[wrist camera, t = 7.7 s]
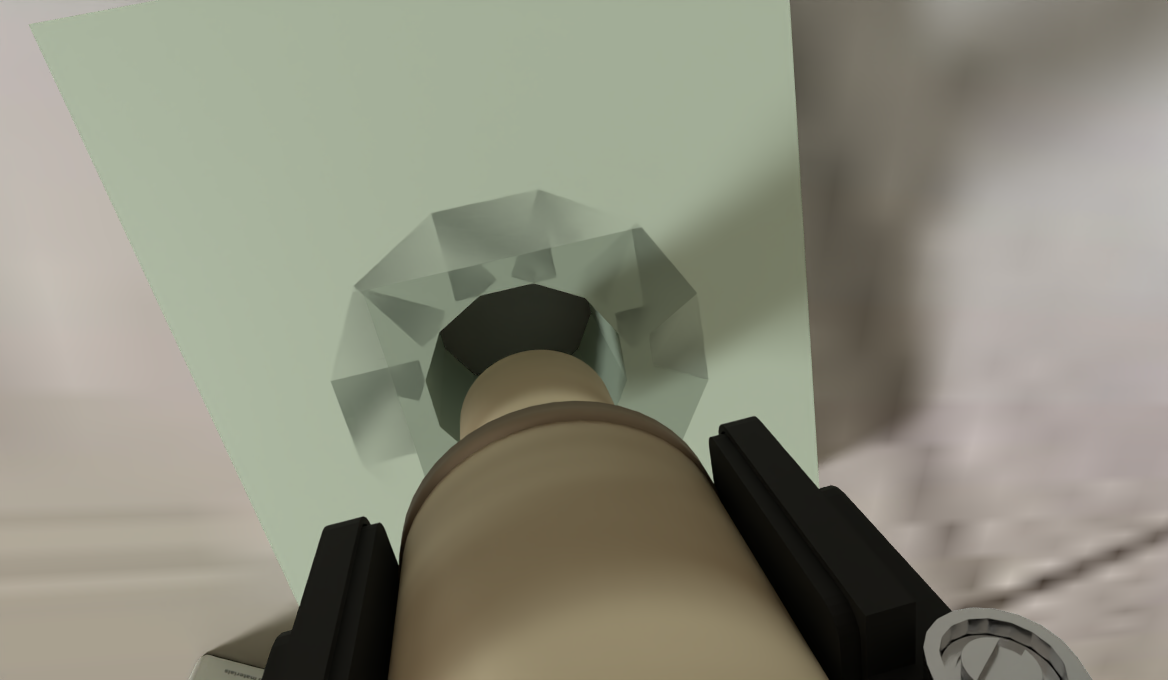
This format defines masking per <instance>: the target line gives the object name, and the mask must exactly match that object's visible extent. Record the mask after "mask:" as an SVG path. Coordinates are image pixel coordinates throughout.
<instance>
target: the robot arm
mask: <svg viewBox="0 0 1168 680" xmlns="http://www.w3.org/2000/svg"><path fill="white" fill-rule="evenodd" d="M718 434H719V435H716V436H712V437H710V438H709V451H710V459H711V466H712V474H713V481H714V485H715V486H716V488H717V490H718V493H719V495H720V501H721V503H722V504H723V506H724V508H725V509H726V511H727V513H728V514H729V516H730V517H731V519H732V521H733V522H734V524H735V526H736V527H737V529H738V531H739V532H740V534H741V536H742V537H743V539H744V541H745V542H746V544H747V545H748V547H749V549H750V550H751V552H752V554H753V555H754V557H755V559H756V560H757V562H758V564H759V565H760V567H761V569H762V570H763V572H764V573H765V575H766V577H767V578H768V580H769V582H770V583H771V585H772V587H773V588H774V590H775V592H776V593H777V595H778V597H779V598H780V600H781V601H782V603H783V605H784V606H785V608H786V610H787V611H788V613H789V615H790V616H791V618H792V620H793V621H794V623H795V625H796V626H797V628H798V629H799V631H800V633H801V634H802V636H803V638H804V639H805V641H806V643H807V644H808V646H809V648H810V649H811V651H812V653H813V654H814V656H815V657H816V659H817V661H818V662H819V664H820V666H821V667H822V669H823V671H824V672H825V674H826V676H827V677H828V679H829V680H1092V678H1091V677H1090V675H1089V674H1088V672H1087V671H1086V669H1085V668H1084V666H1083V665H1082V663H1081V662H1080V660H1079V659H1078V657H1077V656H1076V655H1075V654H1074V653H1073V652H1072V651H1071V650H1070V648H1069V647H1068V646H1067V645H1066V644H1065V643H1064V642H1063V641H1062V640H1061V639H1060V638H1058V637H1057V636H1056V635H1054V634H1053V633H1051V632H1050V631H1049V630H1047V629H1046V628H1044V627H1043V626H1042V625H1040V624H1037V623H1035V622H1033V621H1031V620H1029V619H1026V618H1024V617H1022V616H1020V615H1017V614H1013V613H1009V612H1005V611H1001V610H997V609H989V608H967V609H962V610H956V611H951V610H950V609H949V607H948V606H947V605H946V604H945V603H944V602H943V601H942V600H941V599H940V598H939V597H938V595H937V594H936V593H935V592H934V591H933V590H932V589H931V588H930V587H929V586H928V584H927V583H926V582H925V581H924V580H923V579H922V578H921V577H920V576H919V575H918V573H917V572H916V571H915V570H914V569H913V568H912V567H911V566H910V565H909V564H908V562H907V561H906V560H905V559H904V558H903V557H902V556H901V555H900V554H899V553H898V552H897V550H896V549H895V548H894V547H893V546H892V545H891V544H890V543H889V542H888V541H887V539H886V538H885V537H884V536H883V535H882V534H881V533H880V532H879V531H878V530H877V528H876V527H875V526H874V525H873V524H872V523H871V522H870V521H869V520H868V519H867V517H866V516H865V515H864V514H863V513H862V512H861V511H860V510H859V509H858V508H857V507H856V505H855V504H854V503H853V502H852V501H851V500H850V499H849V498H848V497H847V496H846V494H845V493H844V492H842V491H841V490H840V489H839V488H838V487H835V486H832V485H831V486H827V487H823V488H820V489H819V488H818V487H817V486H816V485H815V484H814V482H813V481H812V480H811V479H810V478H809V477H808V475H807V474H806V473H805V472H804V471H803V470H802V468H801V467H800V466H799V465H798V464H797V463H796V461H795V460H794V459H793V458H792V457H791V456H790V454H789V453H788V452H787V451H786V450H785V449H784V447H783V446H782V445H781V444H780V443H779V442H778V440H777V439H776V438H775V437H774V436H773V435H772V434H771V432H770V431H769V430H768V429H767V428H766V427H765V425H764V424H763V423H762V422H761V421H760V420H759V419H758V418H757V417H756V416H752V417H748V418H744V419H740V420H736V421H732V422H728V423H724V424H721V425H720V426H719V430H718ZM398 567H399V565H398V562H397V560H396V557H395V554H394V552H393V549H392V546H391V544H390V541H389V538H388V536H387V533H386V530H385V528H384V526H383V525H382V523H380V522H379V523H375V524H370V522H369V520H368V519H367V518H366V517H364V516H362V517H358V518H355V519H351V520H347V521H343V522H339V523H335V524H331V525H327V526H326V527H324V529H323V531H322V534H321V537H320V540H319V543H318V547H317V550H316V553H315V557H314V560H313V563H312V566H311V570H310V573H309V576H308V580H307V583H306V586H305V589H304V593H303V596H302V599H301V603H300V606H299V609H298V612H297V616H296V619H295V622H294V625H293V629H292V630H291V631H287V632H283V633H281V634H280V635H279V636H278V637H277V638H276V640H275V642H274V644H273V646H272V649H271V652H270V655H269V658H268V661H267V664H266V667H265V670H264V673H263V676H262V679H261V680H388V673H389V664H390V656H391V648H392V640H393V632H394V624H395V615H396V607H397V599H398V591H399V583H400V582H399V577H398Z"/></svg>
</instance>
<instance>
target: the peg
mask: <svg viewBox="0 0 1168 680" xmlns="http://www.w3.org/2000/svg"><path fill="white" fill-rule="evenodd" d="M398 577H399V582H400V583H399V591H398V599H397V607H396V615H395V624H394V632H393V640H392V648H391V656H390V664H389V673H388V680H829V679H828V677H827V676H826V674H825V672H824V671H823V669H822V667H821V666H820V664H819V662H818V661H817V659H816V657H815V656H814V654H813V653H812V651H811V649H810V648H809V646H808V644H807V643H806V641H805V639H804V638H803V636H802V634H801V633H800V631H799V629H798V628H797V626H796V625H795V623H794V621H793V620H792V618H791V616H790V615H789V613H788V611H787V610H786V608H785V606H784V605H783V603H782V601H781V600H780V598H779V597H778V595H777V593H776V592H775V590H774V588H773V587H772V585H771V583H770V582H769V580H768V578H767V577H766V575H765V573H764V572H763V570H762V569H761V567H760V565H759V564H758V562H757V560H756V559H755V557H754V555H753V554H752V552H751V550H750V549H749V547H748V545H747V544H746V542H745V541H744V539H743V537H742V536H741V534H740V532H739V531H738V529H737V527H736V526H735V524H734V522H733V521H732V519H731V517H730V516H729V514H728V513H727V511H726V509H725V508H724V506H723V504H722V503H721V501H720V495H719V493H718V490H717V488H716V486H715V485H714V483H713V481H712V480H711V478H710V476H709V475H708V473H707V471H706V470H705V468H704V466H703V465H702V463H701V462H700V460H699V458H698V457H697V455H696V454H695V453H694V452H693V451H692V449H691V448H690V447H689V446H688V445H687V443H686V442H685V441H683V440H682V439H681V438H680V437H679V436H678V435H677V434H676V433H674V432H673V431H672V430H671V429H669V428H668V427H666V426H665V425H663V424H661V423H660V422H658V421H657V420H655V419H653V418H651V417H649V416H646V415H644V414H642V413H640V412H638V411H634V410H631V409H628V408H625V407H622V406H618V405H614V403H613V401H612V398H611V396H610V394H609V392H608V390H607V388H606V385H605V384H604V382H603V381H602V379H601V378H600V376H599V375H598V374H597V373H596V372H595V371H594V370H593V369H592V368H591V367H590V366H589V365H587V364H586V363H584V362H583V361H581V360H580V359H578V358H576V357H574V356H572V355H569V354H566V353H563V352H558V351H553V350H529V351H524V352H519V353H516V354H513V355H510V356H508V357H505V358H503V359H501V360H499V361H498V362H496V363H494V364H493V365H491V366H490V367H489V368H487V369H486V370H485V371H484V372H483V373H482V374H481V375H480V376H479V377H478V378H477V379H476V380H475V382H474V383H473V384H472V386H471V387H470V389H469V391H468V393H467V394H466V397H465V399H464V402H463V405H462V409H461V416H460V441H459V442H457V443H456V444H455V445H454V446H452V447H451V448H450V449H449V450H448V451H447V452H446V453H445V454H444V455H443V456H442V457H441V458H440V459H439V460H438V461H437V462H436V463H435V464H434V466H433V467H432V468H431V469H430V471H429V472H428V473H427V475H426V476H425V477H424V479H423V480H422V482H421V484H420V485H419V487H418V489H417V491H416V492H415V494H414V496H413V498H412V501H411V503H410V506H409V508H408V511H407V514H406V517H405V522H404V526H403V531H402V537H401V545H400V553H399V567H398Z"/></svg>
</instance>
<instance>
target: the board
mask: <svg viewBox="0 0 1168 680" xmlns="http://www.w3.org/2000/svg"><path fill="white" fill-rule="evenodd" d="M29 26H30V28H31V31H32V33H33V35H34V37H35V39H36V41H37V43H38V46H39V48H40V50H41V52H42V54H43V56H44V59H45V61H46V63H47V65H48V67H49V69H50V71H51V74H52V76H53V78H54V80H55V82H56V84H57V87H58V89H59V91H60V93H61V95H62V97H63V99H64V102H65V104H66V106H67V108H68V110H69V112H70V114H71V117H72V119H73V121H74V123H75V125H76V127H77V130H78V132H79V134H80V136H81V138H82V140H83V142H84V145H85V147H86V149H87V151H88V153H89V155H90V158H91V160H92V162H93V164H94V166H95V168H96V170H97V173H98V175H99V177H100V179H101V181H102V183H103V185H104V188H105V190H106V192H107V194H108V196H109V198H110V201H111V203H112V205H113V207H114V209H115V211H116V213H117V216H118V218H119V220H120V222H121V224H122V226H123V229H124V231H125V233H126V235H127V237H128V239H129V241H130V244H131V246H132V248H133V250H134V252H135V254H136V256H137V259H138V261H139V263H140V265H141V267H142V269H143V272H144V274H145V276H146V278H147V280H148V282H149V284H150V287H151V289H152V291H153V293H154V295H155V297H156V300H157V302H158V304H159V306H160V308H161V310H162V312H163V315H164V317H165V319H166V321H167V323H168V325H169V327H170V330H171V332H172V334H173V336H174V338H175V340H176V343H177V345H178V347H179V349H180V351H181V353H182V355H183V358H184V360H185V362H186V364H187V366H188V368H189V371H190V373H191V375H192V377H193V379H194V381H195V383H196V386H197V388H198V390H199V392H200V394H201V396H202V398H203V401H204V403H205V405H206V407H207V409H208V411H209V414H210V416H211V418H212V420H213V422H214V424H215V426H216V429H217V431H218V433H219V435H220V437H221V439H222V442H223V444H224V446H225V448H226V450H227V452H228V454H229V457H230V459H231V461H232V463H233V465H234V467H235V469H236V472H237V474H238V476H239V478H240V480H241V482H242V485H243V487H244V489H245V491H246V493H247V495H248V497H249V500H250V502H251V504H252V506H253V508H254V510H255V513H256V515H257V517H258V519H259V521H260V523H261V525H262V528H263V530H264V532H265V534H266V536H267V538H268V540H269V543H270V545H271V547H272V549H273V551H274V553H275V556H276V558H277V560H278V562H279V564H280V566H281V568H282V571H283V573H284V575H285V577H286V579H287V581H288V584H289V586H290V588H291V590H292V592H293V594H294V596H295V599H296V601H297V603H298V605H299V606H300V603H301V599H302V596H303V593H304V589H305V586H306V583H307V580H308V576H309V573H310V570H311V566H312V563H313V560H314V557H315V553H316V550H317V547H318V543H319V540H320V537H321V534H322V531H323V529H324V527H326V526H327V525H331V524H335V523H339V522H343V521H347V520H351V519H355V518H358V517H362V516H364V517H366V518H367V519H368V520H369V522H370V524H375V523H379V522H380V523H382V525H383V526H384V528H385V530H386V533H387V536H388V538H389V541H390V544H391V546H392V549H393V552H394V554H395V557H396V560H397V562H398V565H399V553H400V545H401V537H402V531H403V526H404V522H405V517H406V514H407V511H408V508H409V506H410V503H411V501H412V498H413V496H414V494H415V492H416V491H417V489H418V487H419V485H420V484H421V482H422V480H423V479H424V477H425V476H426V475H427V473H428V472H429V471H430V469H431V468H432V467H433V466H434V464H435V463H436V462H437V461H438V460H439V459H440V458H441V457H442V456H443V455H444V454H445V453H446V452H447V451H448V450H449V449H450V448H451V447H452V446H454V445H455V444H456V443H457V442H459V441H460V416H461V409H462V405H463V402H464V399H465V397H466V394H467V393H468V391H469V389H470V387H471V386H472V384H473V383H474V382H475V380H476V379H477V378H478V377H479V375H475V374H473V373H471V372H470V371H469V370H468V369H467V368H466V367H465V366H464V365H463V364H462V363H461V362H459V361H458V360H457V359H456V358H455V357H454V356H453V355H452V354H451V353H450V352H449V351H447V350H446V349H445V347H444V344H443V341H442V337H441V334H440V331H441V330H442V329H444V328H445V327H446V326H447V325H448V324H449V323H450V322H451V321H452V320H453V319H455V318H456V317H457V316H458V315H459V314H460V313H461V312H462V311H463V310H464V309H466V308H467V307H468V306H469V305H470V304H471V303H472V302H473V301H474V300H475V299H477V298H478V297H479V296H481V295H485V294H489V293H494V292H498V291H502V290H507V289H511V288H515V287H520V286H524V285H528V284H532V283H535V284H538V285H542V286H545V287H549V288H552V289H556V290H559V291H563V292H566V293H570V294H573V295H577V296H580V297H584V298H586V299H587V300H588V302H589V306H590V311H591V314H590V317H589V320H588V323H587V326H586V328H585V331H584V334H583V337H582V340H581V342H580V345H579V348H578V349H577V350H576V351H575V352H574V353H573V354H572V356H574V357H576V358H578V359H580V360H581V361H583V362H584V363H586V364H587V365H589V366H590V367H591V368H592V369H593V370H594V371H595V372H596V373H597V374H598V375H599V376H600V378H601V379H602V381H603V382H604V384H605V385H606V388H607V390H608V392H609V394H610V396H611V398H612V401H613V403H614V405H618V406H622V407H625V408H628V409H631V410H634V411H638V412H640V413H642V414H644V415H646V416H649V417H651V418H653V419H655V420H657V421H658V422H660V423H661V424H663V425H665V426H666V427H668V428H669V429H671V430H672V431H673V432H674V433H676V434H677V435H678V436H679V437H680V438H681V439H682V440H683V441H685V442H686V443H687V445H688V446H689V447H690V448H691V449H692V451H693V452H694V453H695V454H696V455H697V457H698V458H699V460H700V462H701V463H702V465H703V466H704V468H705V470H706V471H707V473H708V475H709V476H710V478H711V480H712V481H713V474H712V466H711V459H710V451H709V438H710V437H712V436H716V435H719V434H718V430H719V426H720V425H721V424H724V423H728V422H732V421H736V420H740V419H744V418H748V417H752V416H756V417H757V418H758V419H759V420H760V421H761V422H762V423H763V424H764V425H765V427H766V428H767V429H768V430H769V431H770V432H771V434H772V435H773V436H774V437H775V438H776V439H777V440H778V442H779V443H780V444H781V445H782V446H783V447H784V449H785V450H786V451H787V452H788V453H789V454H790V456H791V457H792V458H793V459H794V460H795V461H796V463H797V464H798V465H799V466H800V467H801V468H802V470H803V471H804V472H805V473H806V474H807V475H808V477H809V478H810V479H811V480H812V481H813V482H814V484H815V485H816V486H817V487H818V488H819V476H818V460H817V443H816V427H815V410H814V394H813V377H812V361H811V344H810V328H809V312H808V295H807V279H806V262H805V246H804V229H803V213H802V196H801V180H800V163H799V147H798V130H797V114H796V97H795V81H794V65H793V48H792V32H791V15H790V0H156V1H151V2H145V3H140V4H135V5H129V6H124V7H119V8H113V9H108V10H103V11H98V12H92V13H87V14H82V15H76V16H71V17H66V18H60V19H55V20H50V21H44V22H39V23H34V24H29ZM713 483H714V481H713Z"/></svg>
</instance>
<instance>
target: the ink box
mask: <svg viewBox="0 0 1168 680" xmlns="http://www.w3.org/2000/svg"><path fill="white" fill-rule="evenodd" d="M264 670H265V669H261V668H256V667H253V666H249V665H245V664H241V663H237V662H233V661H229V660H225V659H221V658H218V657H215V656H212V655H204V656H202V657H201V658H200V659H199V660H198V662H197V663H196V665H195V667H194V669H193V671H192V673H191V675H190V677H189V679H188V680H261V679H262V676H263V673H264Z"/></svg>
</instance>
